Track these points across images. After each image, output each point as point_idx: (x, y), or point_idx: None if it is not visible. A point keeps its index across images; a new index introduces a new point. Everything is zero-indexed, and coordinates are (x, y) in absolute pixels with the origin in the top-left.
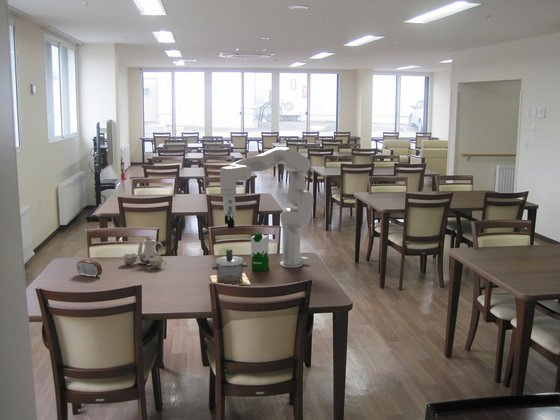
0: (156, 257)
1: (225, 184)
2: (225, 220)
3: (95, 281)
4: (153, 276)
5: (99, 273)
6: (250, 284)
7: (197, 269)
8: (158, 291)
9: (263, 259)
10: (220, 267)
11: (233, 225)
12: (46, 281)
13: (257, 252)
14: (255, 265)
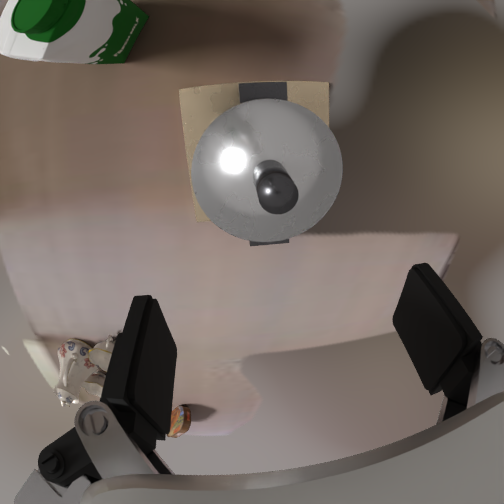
0: (90, 358)
1: None
2: (172, 384)
3: (209, 405)
4: (180, 348)
5: (188, 410)
6: (327, 82)
7: (110, 258)
8: (301, 332)
9: (130, 6)
10: None
11: (437, 287)
12: (204, 432)
13: (111, 24)
14: (127, 46)
